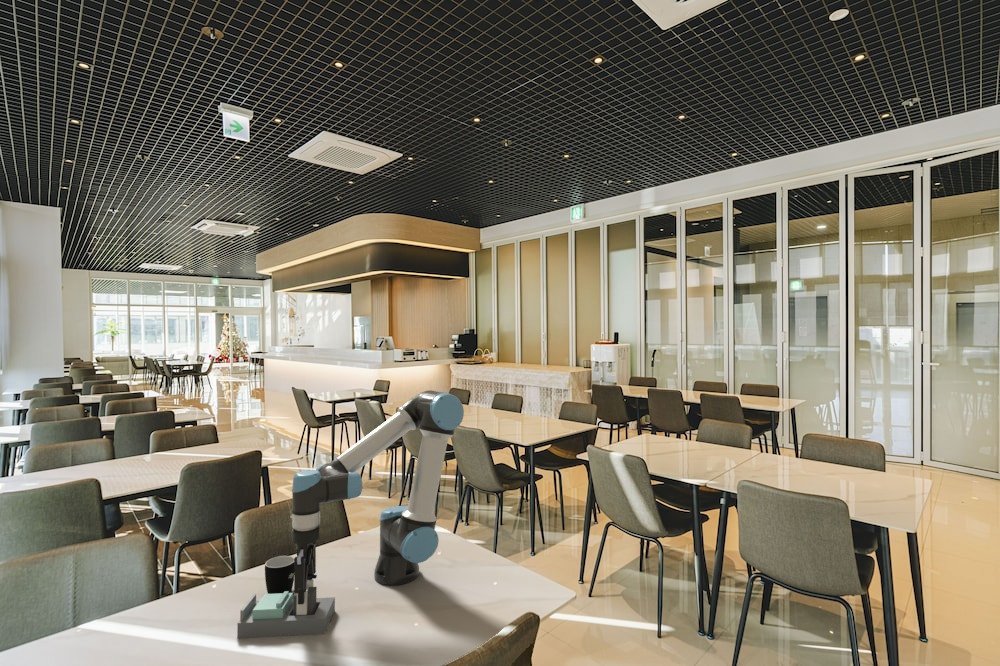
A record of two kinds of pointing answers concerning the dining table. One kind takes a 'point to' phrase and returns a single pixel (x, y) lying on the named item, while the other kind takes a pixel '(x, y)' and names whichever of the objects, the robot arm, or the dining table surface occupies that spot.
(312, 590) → the plug
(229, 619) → the dining table surface
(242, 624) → the socket
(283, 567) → the mug
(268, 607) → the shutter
